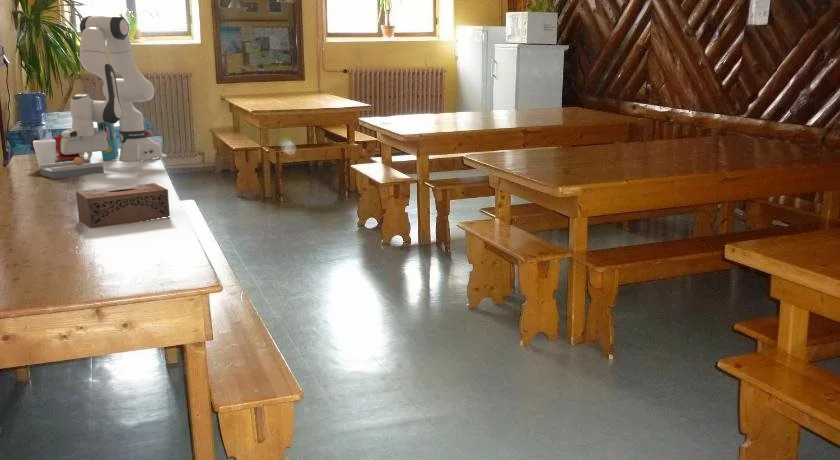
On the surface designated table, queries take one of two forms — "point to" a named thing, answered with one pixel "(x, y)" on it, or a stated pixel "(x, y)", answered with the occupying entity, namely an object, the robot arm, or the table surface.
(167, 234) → the table surface
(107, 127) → the game box
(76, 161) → the ball
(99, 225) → the tissue box cover
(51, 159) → the foam cup
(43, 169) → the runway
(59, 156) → the plant pot
